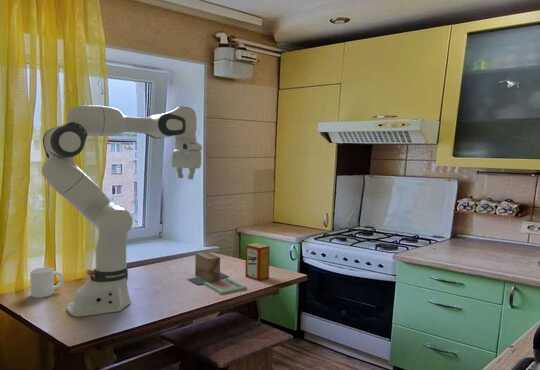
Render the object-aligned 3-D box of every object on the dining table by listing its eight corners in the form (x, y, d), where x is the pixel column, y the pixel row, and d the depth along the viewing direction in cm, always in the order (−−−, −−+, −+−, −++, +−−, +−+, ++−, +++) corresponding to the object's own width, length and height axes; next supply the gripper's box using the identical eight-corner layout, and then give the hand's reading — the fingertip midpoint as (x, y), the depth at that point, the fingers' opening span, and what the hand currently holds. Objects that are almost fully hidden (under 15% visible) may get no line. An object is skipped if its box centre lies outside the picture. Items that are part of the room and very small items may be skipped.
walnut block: (208, 282, 190) (208, 259, 190) (195, 275, 201) (195, 253, 200) (219, 280, 194) (220, 257, 193) (206, 273, 204) (206, 251, 203)
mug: (61, 288, 178) (61, 265, 177) (65, 294, 172) (65, 269, 171) (29, 293, 171) (28, 269, 170) (32, 299, 164) (31, 274, 164)
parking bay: (220, 294, 175) (220, 292, 174) (203, 284, 187) (203, 282, 187) (246, 288, 182) (246, 286, 182) (228, 279, 195) (228, 277, 195)
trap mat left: (197, 285, 186) (197, 284, 186) (187, 279, 194) (187, 278, 194) (207, 283, 189) (207, 282, 189) (197, 277, 197) (197, 277, 197)
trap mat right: (219, 278, 196) (219, 278, 196) (209, 273, 204) (209, 272, 204) (228, 277, 199) (228, 276, 199) (218, 272, 207) (218, 271, 207)
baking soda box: (245, 276, 201) (245, 243, 199) (255, 274, 205) (255, 242, 204) (258, 281, 194) (259, 247, 193) (268, 278, 198) (269, 245, 197)
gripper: (168, 146, 182) (168, 177, 183) (190, 145, 166) (189, 180, 167) (181, 146, 186) (181, 177, 187) (204, 146, 170) (203, 179, 170)
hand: (185, 178), depth 176 cm, fingers open, 8 cm apart
